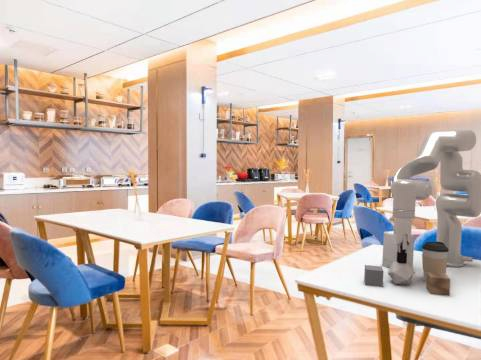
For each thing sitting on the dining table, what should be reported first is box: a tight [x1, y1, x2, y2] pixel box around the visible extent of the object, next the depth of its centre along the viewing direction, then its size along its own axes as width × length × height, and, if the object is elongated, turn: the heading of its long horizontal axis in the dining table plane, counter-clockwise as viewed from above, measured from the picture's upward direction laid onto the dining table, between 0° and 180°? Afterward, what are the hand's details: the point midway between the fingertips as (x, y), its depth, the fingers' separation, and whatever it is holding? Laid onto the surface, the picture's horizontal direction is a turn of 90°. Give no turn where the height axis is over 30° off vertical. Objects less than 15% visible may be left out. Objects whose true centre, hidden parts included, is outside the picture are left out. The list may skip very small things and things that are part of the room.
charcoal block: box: [363, 264, 384, 288], centre depth 133 cm, size 6×6×6 cm
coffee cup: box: [421, 241, 449, 283], centre depth 136 cm, size 9×9×15 cm
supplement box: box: [381, 230, 415, 269], centre depth 155 cm, size 9×9×15 cm
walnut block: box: [425, 272, 451, 297], centre depth 126 cm, size 6×6×6 cm
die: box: [387, 262, 416, 285], centre depth 134 cm, size 8×9×10 cm
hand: (401, 262), depth 134 cm, fingers closed
